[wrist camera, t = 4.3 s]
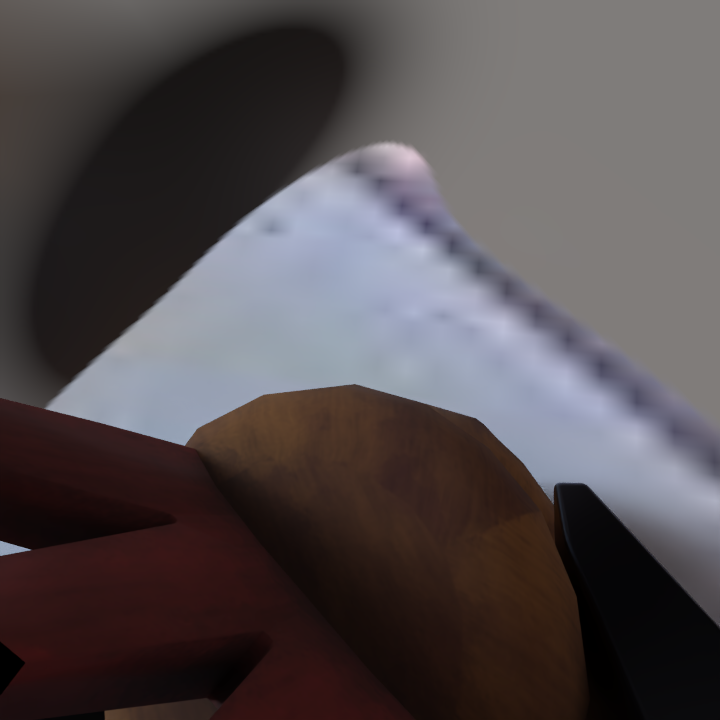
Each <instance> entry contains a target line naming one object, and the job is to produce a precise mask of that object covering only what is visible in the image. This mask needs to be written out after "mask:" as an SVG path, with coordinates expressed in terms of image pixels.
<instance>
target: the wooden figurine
mask: <svg viewBox="0 0 720 720" xmlns="http://www.w3.org/2000/svg"><path fill="white" fill-rule="evenodd" d="M0 541H3V542H7V543H10V544H13V545H17V546H20V547H24V548H27V549H31V550H30V551H25V552H19V553H14V554H9V555H3V556H0V720H36V719H44V718H52V717H60V716H68V715H76V714H84V713H92V712H100V711H105V720H586V718H587V713H588V707H589V702H590V694H589V687H588V679H587V672H586V664H585V657H584V649H583V641H582V634H581V626H580V619H579V611H578V604H577V596H576V594H575V592H574V589H573V587H572V584H571V582H570V579H569V577H568V574H567V572H566V570H565V567H564V565H563V562H562V560H561V557H560V555H559V553H558V550H557V548H556V545H555V534H554V505H553V504H552V502H551V501H550V500H549V498H548V497H547V495H546V494H545V493H544V491H543V490H542V489H541V487H540V486H539V484H538V483H537V482H536V480H535V479H534V478H533V476H532V475H531V473H530V472H529V471H528V469H527V468H526V467H525V465H524V464H523V463H522V462H521V461H520V460H519V459H518V458H517V457H516V456H515V455H514V454H513V453H512V452H511V451H510V450H509V449H508V448H507V447H506V446H504V445H503V444H502V443H501V442H500V441H499V440H498V439H497V438H496V437H495V436H494V435H493V434H492V433H491V432H490V430H489V429H488V428H487V427H486V426H485V425H484V424H483V423H481V422H480V421H479V420H477V419H476V418H472V417H469V416H465V415H462V414H459V413H455V412H452V411H448V410H445V409H441V408H438V407H434V406H431V405H428V404H424V403H421V402H417V401H413V400H410V399H406V398H402V397H399V396H395V395H392V394H388V393H384V392H381V391H377V390H374V389H370V388H367V387H363V386H359V385H356V384H353V385H344V386H336V387H327V388H319V389H310V390H302V391H293V392H284V393H276V394H267V395H263V396H261V397H259V398H257V399H255V400H253V401H251V402H249V403H247V404H245V405H243V406H241V407H239V408H237V409H235V410H233V411H231V412H229V413H227V414H225V415H223V416H221V417H219V418H217V419H215V420H214V421H212V422H210V423H208V424H206V425H204V426H202V427H200V428H198V429H197V430H196V432H195V433H194V434H193V436H192V437H191V438H190V440H189V441H188V442H187V444H186V445H185V446H183V445H179V444H175V443H172V442H168V441H164V440H161V439H157V438H153V437H150V436H146V435H142V434H139V433H135V432H131V431H128V430H124V429H120V428H117V427H113V426H109V425H106V424H102V423H98V422H94V421H90V420H86V419H82V418H78V417H74V416H70V415H66V414H62V413H58V412H54V411H50V410H46V409H42V408H38V407H34V406H30V405H26V404H21V403H18V402H13V401H9V400H6V399H2V398H0Z"/></svg>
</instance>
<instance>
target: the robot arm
mask: <svg viewBox="0 0 720 720" xmlns="http://www.w3.org/2000/svg"><path fill="white" fill-rule="evenodd" d="M554 534H555V545H556V548H557V550H558V553H559V555H560V557H561V560H562V562H563V565H564V567H565V570H566V572H567V574H568V577H569V579H570V582H571V584H572V587H573V589H574V592H575V594H576V596H577V604H578V611H579V619H580V626H581V634H582V641H583V649H584V657H585V664H586V672H587V679H588V687H589V694H590V702H589V707H588V713H587V718H586V720H720V627H719V626H718V625H717V624H716V623H715V622H714V621H713V620H712V619H711V617H710V616H709V615H708V614H707V613H706V612H705V611H704V610H703V609H702V608H701V607H700V606H699V605H698V604H697V602H696V601H695V600H694V599H693V598H692V597H691V596H690V595H689V594H688V593H687V592H686V591H685V590H684V589H683V587H682V586H681V585H680V584H679V583H678V582H677V581H676V580H675V579H674V578H673V577H672V576H671V575H670V573H669V572H668V571H667V570H666V569H665V568H664V567H663V566H662V565H661V564H660V563H659V562H658V561H657V560H656V558H655V557H654V556H653V555H652V554H651V553H650V552H649V551H648V550H647V549H646V548H645V547H644V546H643V545H642V543H641V542H640V541H639V540H638V539H637V538H636V537H635V536H634V535H633V534H632V533H631V532H630V531H629V530H628V528H627V527H626V526H625V525H624V524H623V523H622V522H621V521H620V520H619V519H618V518H617V517H616V516H615V515H614V513H613V512H612V511H611V510H610V509H609V508H608V507H607V506H606V505H605V504H604V503H603V502H602V501H601V500H600V498H599V497H598V496H597V495H596V494H595V493H594V492H593V491H592V490H591V489H590V488H589V487H588V486H587V485H585V484H583V483H557V484H556V485H555V486H554ZM36 720H105V711H100V712H92V713H84V714H76V715H68V716H60V717H52V718H44V719H36Z"/></svg>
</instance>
